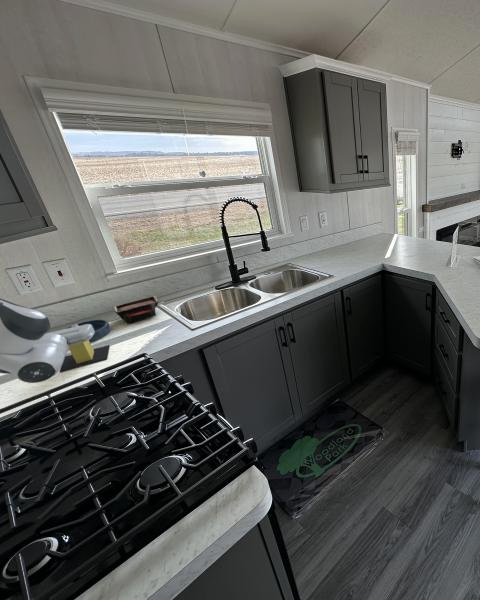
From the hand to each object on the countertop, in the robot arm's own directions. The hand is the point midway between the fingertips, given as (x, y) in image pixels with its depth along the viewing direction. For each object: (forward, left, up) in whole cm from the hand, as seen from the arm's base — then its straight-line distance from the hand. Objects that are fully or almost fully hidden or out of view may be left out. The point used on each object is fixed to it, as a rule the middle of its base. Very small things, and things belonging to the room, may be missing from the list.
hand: (57, 330), depth 114 cm
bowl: (+16, +31, -19) cm, 40 cm away
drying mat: (+6, +10, -19) cm, 22 cm away
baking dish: (+38, +28, -19) cm, 51 cm away
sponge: (+6, +10, -18) cm, 22 cm away
